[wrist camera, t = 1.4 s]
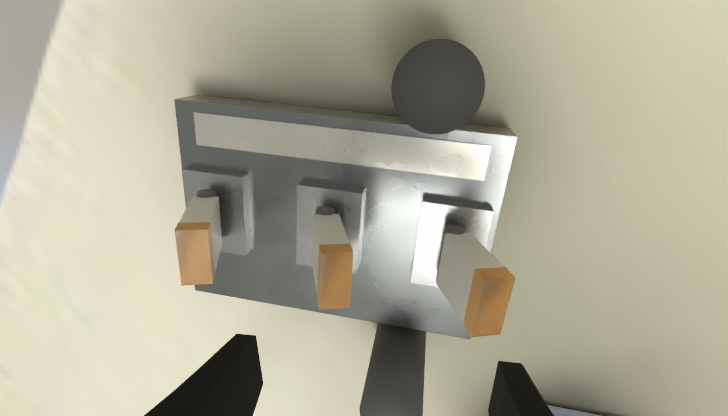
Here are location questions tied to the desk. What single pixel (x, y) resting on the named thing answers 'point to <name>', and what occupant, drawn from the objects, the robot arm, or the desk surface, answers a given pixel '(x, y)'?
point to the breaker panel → (341, 201)
